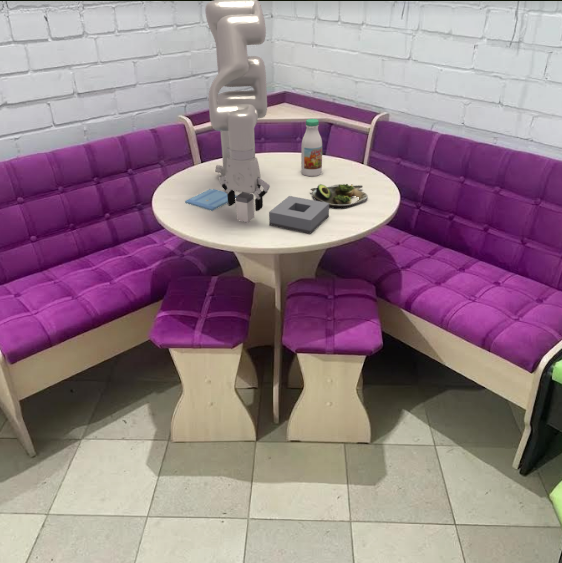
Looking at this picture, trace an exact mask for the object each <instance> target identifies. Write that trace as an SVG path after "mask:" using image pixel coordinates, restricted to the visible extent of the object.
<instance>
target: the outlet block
mask: <svg viewBox="0 0 562 563" xmlns="http://www.w3.org/2000/svg"><path fill="white" fill-rule="evenodd" d="M329 216H330V207H329V203H326V202H320V201H316V200H315V199H310V198H309V199H308V198H302V197H298V196H292V195H288V196H287V197H286V198H284V200H282V201H281V202H279V203H278V204H277V205H276V206H274V207H273V208H272V209H271V210H269V211H268V222H269V223H268V224H269V226H270V227H275V228H281V229H286V230H290V231H294V232H300V233H303V234H304V233H305V234H309V235H310V234H313V232H314V231H315V230H316V229H317V228H318V227H319V226H321V224H323V223H324V222H325V220H327V218H329Z"/></svg>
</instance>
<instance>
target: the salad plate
mask: <svg viewBox="0 0 562 563" xmlns="http://www.w3.org/2000/svg"><path fill="white" fill-rule="evenodd" d="M360 189H363V185H361V184H360V185H354V184H351V185H349V184H348V183H346V184H345V183H342V184H334V185H329V186H326V185H325V184H321V183H320V184H318V185H317V187H314V188H313V187H312V188H310V191H312V193H311V195H312V197H313V200H315V201H320V202H326V203H329V209H330V208H331V209H337V208H341V209H347V208H350V207H351V208H352V207H353V206H355V205H359V204H360V203H363V202H364V201H366V200H367V199H368V194H367V193H366V192H364V191H361V190H360ZM352 196H356V197H355V198H357V197H359V200H358V199H357V201H355V202H353V201H352V198H353V197H352ZM351 197H352V198H351ZM352 202H353V203H352Z"/></svg>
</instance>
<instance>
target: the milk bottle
mask: <svg viewBox="0 0 562 563" xmlns="http://www.w3.org/2000/svg"><path fill="white" fill-rule="evenodd" d="M319 124H320V122H319V119H317V118H308V119H306V120H305V127H306V129H305V131H304V132H305V133H304V134H303V137H302V140H301V158H300V160H301V161H300V162H301V163H300V165H301V166H300V168H301V170H300V172H301V174H302V175H303V176H307V177H316V176H320V175H321V174H322V172H323V171H322V170H323V140H322V136H321V134H320V132H319Z"/></svg>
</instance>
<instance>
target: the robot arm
mask: <svg viewBox="0 0 562 563" xmlns="http://www.w3.org/2000/svg"><path fill="white" fill-rule="evenodd" d="M205 19H206V22H207V25H208V27H209V29H210V32H211V34H212V36H213V39H214V40H213V41H214V42H215V50H216V51H215V52H216V62H217V63H216V64H217V66H216V67H217V75H216V76H215V77H214V79H213V80H212V83H211V84H210V86H209V87H210V88H209V90H208V110H209V121H210V125H211V127H212V129H213V130H215V131H217V132H220V141H221V142H220V143H221V155H222V156H221V158H222V165H220V164H217V165H216V166H215V170H214V171H215V173H220V176H219V178H218V180H219V183H220V185H221V188H222V189H223V190H224V192H226V194H227V197H228V203H227V204H228V206H229V207H232V206H233V205H236V199H235V195H236V192H239V193H242V192H244V193H250V194H253V196H255V199H254V211H255V212H259V211H260V210H262V209H263V206H264V200H263V197H264V196H266V195H267V193H268V191H269V189H270V188H271V185H270V183H267V182H266V181H264V180H263V179H262V178H261V169H260V164H259V161H258V157H256V145H255V127H256V125H257V124H258V121H259V119H264V118H265V117H266V116H267V114H268V112H267V111H268V97H267V96H268V94H267V75H266V74H267V72H266V65H265V62H264V60H263V59H262V57H260V56H257V55H250V56H249V55H248V47H247V46H255V45H256V46H257V45H258V46H259V45H262V44H263V43H264V42H265V40H266V34H267V32H266V31H267V29H266V28H267V27H266V21H265V16H264V13H263V9H262V4H261V3H260V1H259V0H211V1H209V2H208V3H206V5H205ZM223 87H225V88H226V87H227V88H237V87H238V88H240V87H241V88H242V87H251V88H253V89H251V90H250V89H249V90H248V89H247V90H229V91H224V92H221V93H220V91H221V89H222V88H223ZM261 188H263V189H261Z"/></svg>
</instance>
